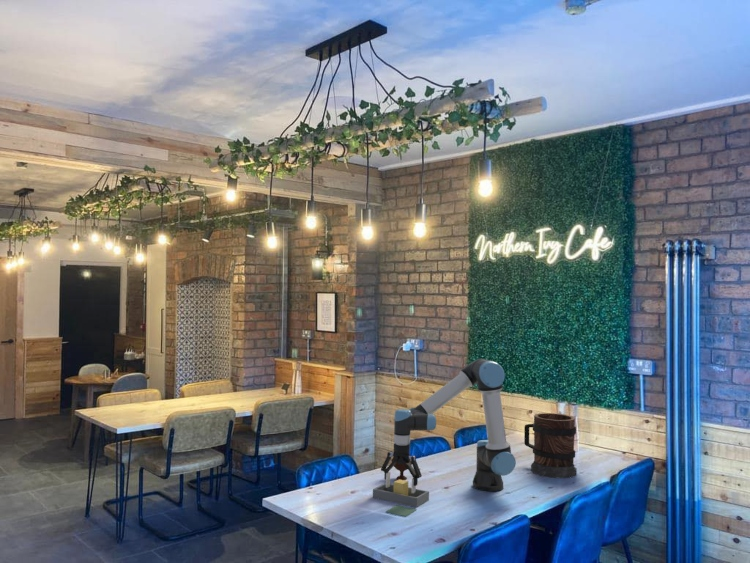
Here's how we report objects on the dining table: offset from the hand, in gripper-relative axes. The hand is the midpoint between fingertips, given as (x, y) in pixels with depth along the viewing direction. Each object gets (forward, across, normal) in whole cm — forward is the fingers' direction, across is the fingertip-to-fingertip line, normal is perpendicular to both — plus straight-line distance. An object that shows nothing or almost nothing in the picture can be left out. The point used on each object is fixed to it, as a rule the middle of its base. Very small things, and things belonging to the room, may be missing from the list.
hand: (400, 489), depth 285 cm
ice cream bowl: (+5, +16, -30) cm, 34 cm away
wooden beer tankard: (+4, -43, -91) cm, 101 cm away
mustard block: (+4, 0, 0) cm, 4 cm away
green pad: (+5, -8, +14) cm, 17 cm away
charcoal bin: (+5, 0, 0) cm, 5 cm away
